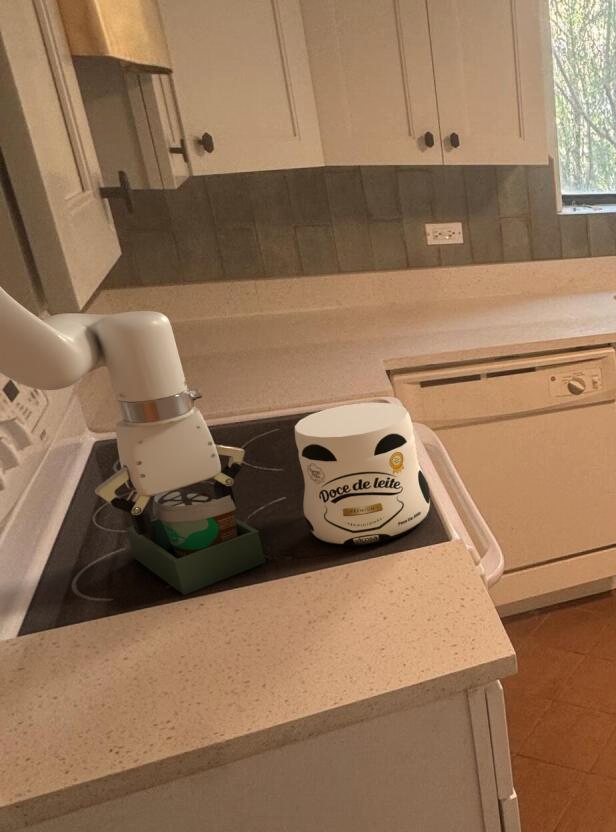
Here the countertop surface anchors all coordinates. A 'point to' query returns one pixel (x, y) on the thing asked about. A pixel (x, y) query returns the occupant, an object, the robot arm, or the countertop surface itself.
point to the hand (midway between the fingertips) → (189, 523)
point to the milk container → (361, 474)
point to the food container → (195, 520)
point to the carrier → (197, 557)
